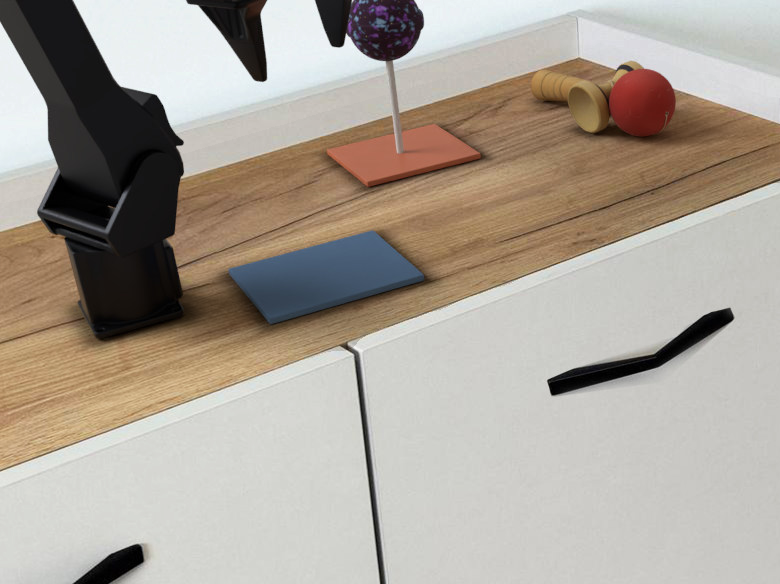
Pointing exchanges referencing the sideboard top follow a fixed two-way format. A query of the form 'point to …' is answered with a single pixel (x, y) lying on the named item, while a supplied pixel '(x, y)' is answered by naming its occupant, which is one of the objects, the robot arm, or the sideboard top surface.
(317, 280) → the slate pad
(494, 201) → the sideboard top surface
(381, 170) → the terracotta pad
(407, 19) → the lollipop
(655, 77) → the kendama
